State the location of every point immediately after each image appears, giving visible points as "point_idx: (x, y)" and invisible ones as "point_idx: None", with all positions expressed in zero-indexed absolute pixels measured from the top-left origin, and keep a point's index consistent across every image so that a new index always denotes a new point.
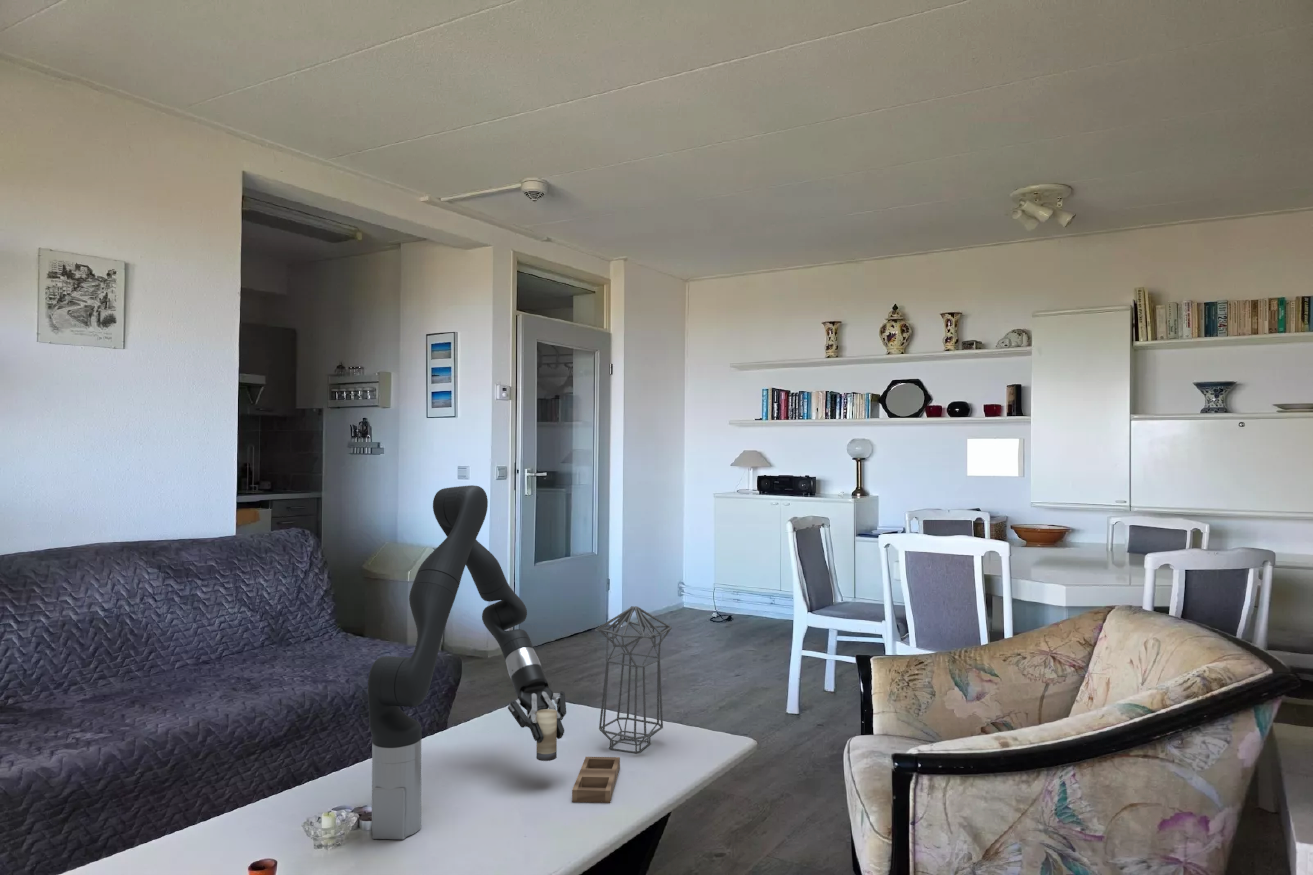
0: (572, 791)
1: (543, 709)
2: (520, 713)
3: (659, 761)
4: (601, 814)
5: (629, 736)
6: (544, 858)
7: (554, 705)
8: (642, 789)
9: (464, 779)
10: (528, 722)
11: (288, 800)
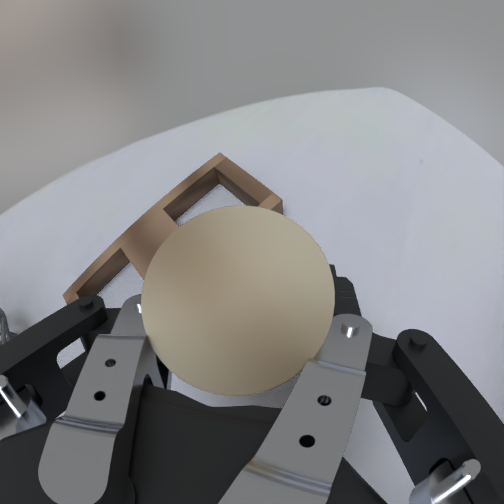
0: (281, 200)
1: (207, 384)
2: (462, 382)
3: (28, 273)
4: (271, 143)
5: (2, 327)
6: (411, 107)
7: (96, 341)
8: (136, 185)
9: (400, 499)
10: (388, 343)
11: None
